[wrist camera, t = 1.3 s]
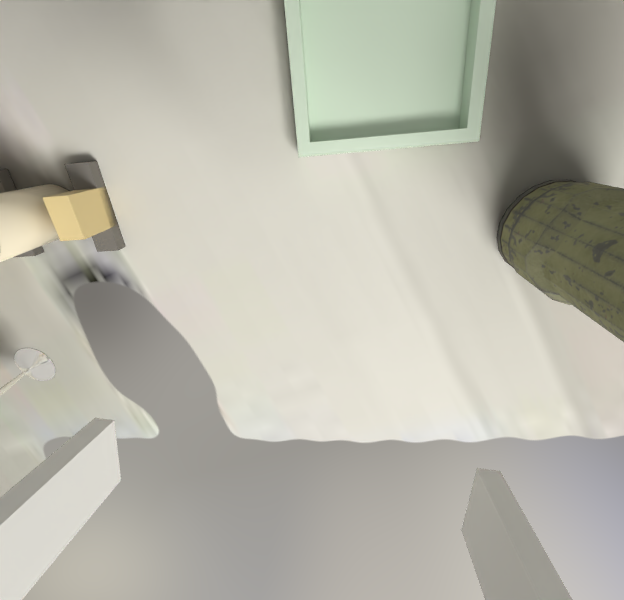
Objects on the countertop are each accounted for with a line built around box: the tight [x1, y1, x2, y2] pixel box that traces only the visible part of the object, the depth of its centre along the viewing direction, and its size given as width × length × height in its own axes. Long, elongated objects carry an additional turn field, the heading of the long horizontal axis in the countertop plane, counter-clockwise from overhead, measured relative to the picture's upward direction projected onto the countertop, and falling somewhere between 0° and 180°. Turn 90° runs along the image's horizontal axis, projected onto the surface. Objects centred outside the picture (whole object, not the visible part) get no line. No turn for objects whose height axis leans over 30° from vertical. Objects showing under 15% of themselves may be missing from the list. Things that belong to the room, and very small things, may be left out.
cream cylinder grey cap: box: [0, 184, 69, 262], centre depth 28 cm, size 5×5×10 cm
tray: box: [284, 0, 496, 157], centre depth 25 cm, size 14×14×2 cm
